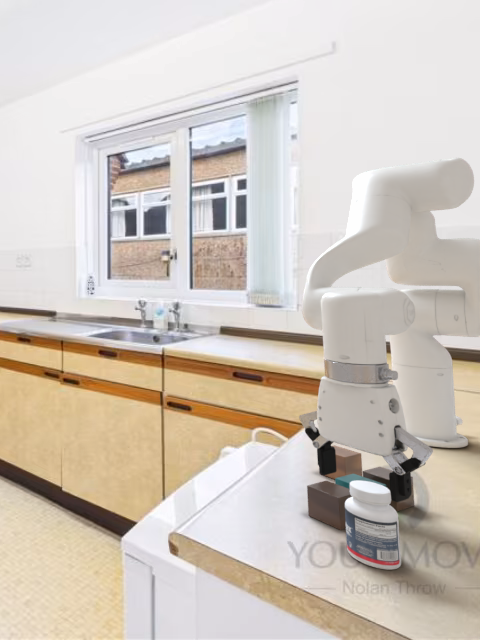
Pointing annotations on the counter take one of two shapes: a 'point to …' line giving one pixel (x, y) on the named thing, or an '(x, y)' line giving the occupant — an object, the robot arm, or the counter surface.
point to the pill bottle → (372, 526)
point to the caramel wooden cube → (346, 463)
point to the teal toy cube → (347, 479)
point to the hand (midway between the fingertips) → (361, 485)
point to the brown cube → (328, 503)
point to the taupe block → (383, 477)
